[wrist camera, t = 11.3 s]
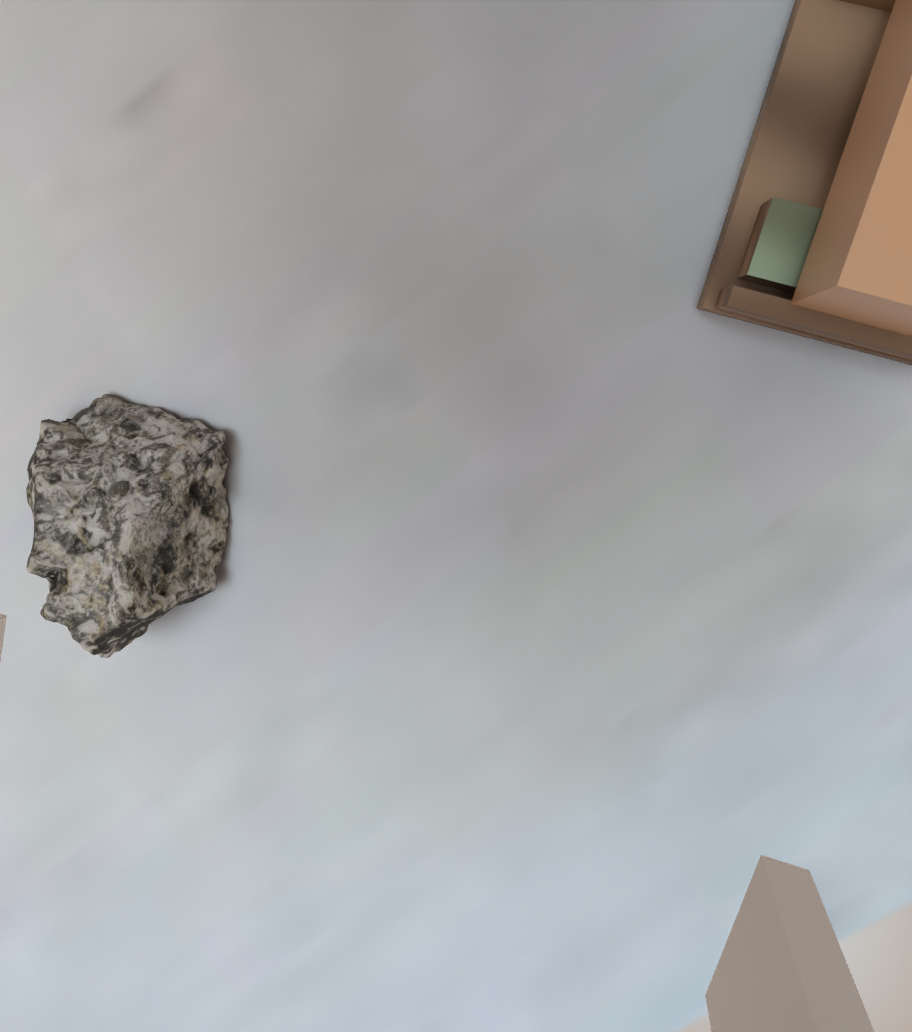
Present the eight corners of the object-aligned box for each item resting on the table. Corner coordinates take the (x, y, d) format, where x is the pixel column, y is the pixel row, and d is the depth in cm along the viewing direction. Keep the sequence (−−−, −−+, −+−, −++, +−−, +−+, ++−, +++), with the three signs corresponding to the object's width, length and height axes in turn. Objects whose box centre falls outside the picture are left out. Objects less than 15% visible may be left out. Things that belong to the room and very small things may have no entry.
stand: (831, -110, 35) (873, -189, 30) (1083, -56, 34) (1174, -127, 29) (697, 308, 39) (713, 304, 34) (918, 366, 38) (971, 372, 33)
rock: (261, 643, 48) (266, 602, 39) (73, 688, 45) (30, 654, 36) (214, 429, 51) (207, 344, 42) (36, 457, 48) (-13, 372, 39)
